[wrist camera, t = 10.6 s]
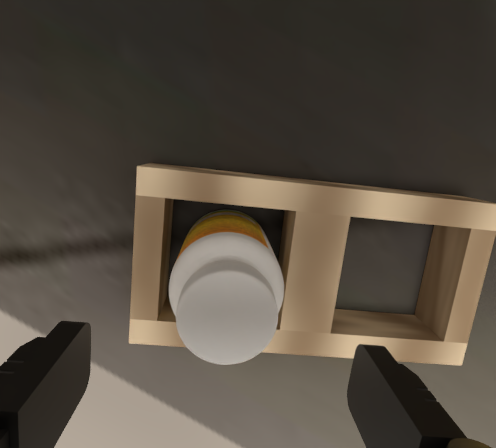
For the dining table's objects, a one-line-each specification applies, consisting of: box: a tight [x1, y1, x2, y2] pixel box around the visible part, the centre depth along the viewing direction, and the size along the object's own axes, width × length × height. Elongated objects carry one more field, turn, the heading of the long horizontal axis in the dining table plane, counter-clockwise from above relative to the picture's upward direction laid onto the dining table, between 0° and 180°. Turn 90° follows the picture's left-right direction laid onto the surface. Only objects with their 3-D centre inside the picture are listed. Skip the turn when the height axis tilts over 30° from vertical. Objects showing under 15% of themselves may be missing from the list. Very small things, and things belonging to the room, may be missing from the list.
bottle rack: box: [129, 163, 496, 366], centre depth 22 cm, size 20×10×4 cm, turn 84°
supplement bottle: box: [169, 209, 284, 365], centre depth 19 cm, size 5×5×10 cm
